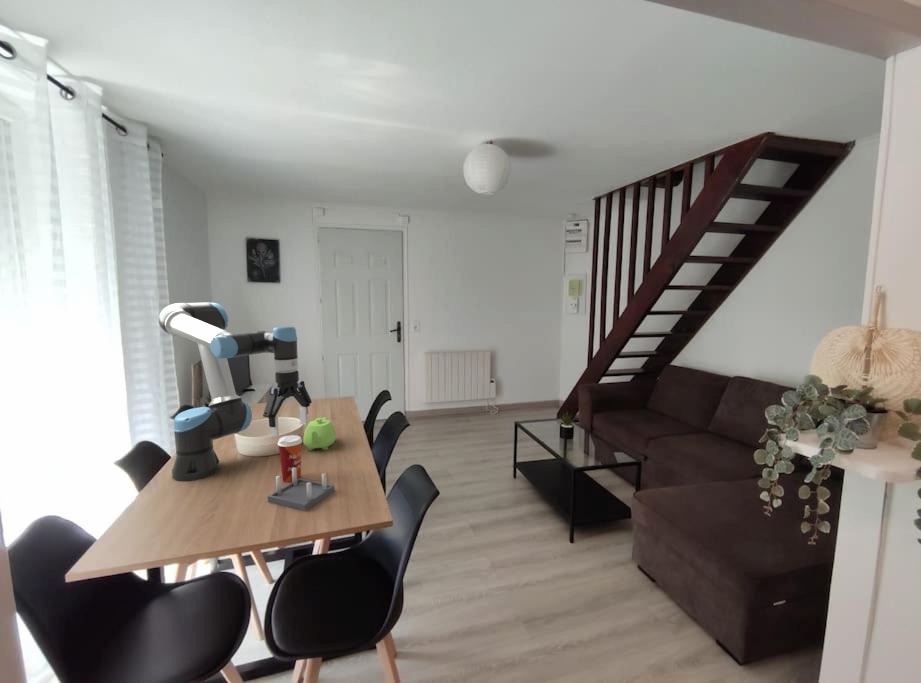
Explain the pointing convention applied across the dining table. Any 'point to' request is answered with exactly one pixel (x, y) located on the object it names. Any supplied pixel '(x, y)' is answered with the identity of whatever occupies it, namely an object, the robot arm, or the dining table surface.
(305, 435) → the teapot
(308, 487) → the tray
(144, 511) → the dining table surface
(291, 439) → the coffee cup
